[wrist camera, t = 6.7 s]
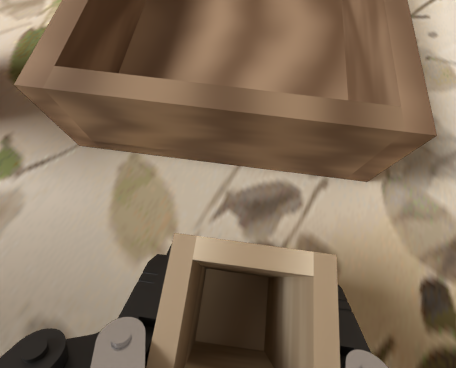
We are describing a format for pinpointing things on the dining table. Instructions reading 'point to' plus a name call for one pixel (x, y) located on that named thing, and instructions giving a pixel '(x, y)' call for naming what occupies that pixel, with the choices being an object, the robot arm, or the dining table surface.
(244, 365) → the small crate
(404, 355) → the dining table surface
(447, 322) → the dining table surface
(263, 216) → the dining table surface
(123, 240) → the dining table surface
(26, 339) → the robot arm
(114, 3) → the crate
